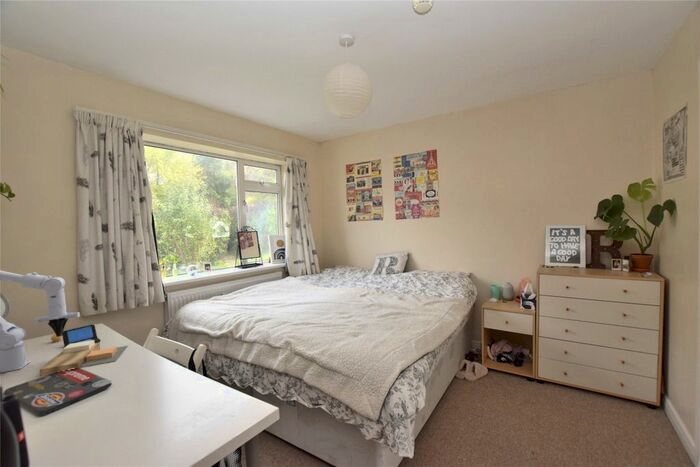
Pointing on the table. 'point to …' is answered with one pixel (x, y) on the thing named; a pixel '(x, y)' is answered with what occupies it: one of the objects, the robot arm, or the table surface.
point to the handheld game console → (80, 335)
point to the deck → (67, 360)
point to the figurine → (55, 338)
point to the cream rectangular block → (78, 346)
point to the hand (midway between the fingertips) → (59, 335)
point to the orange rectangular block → (101, 354)
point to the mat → (105, 360)
